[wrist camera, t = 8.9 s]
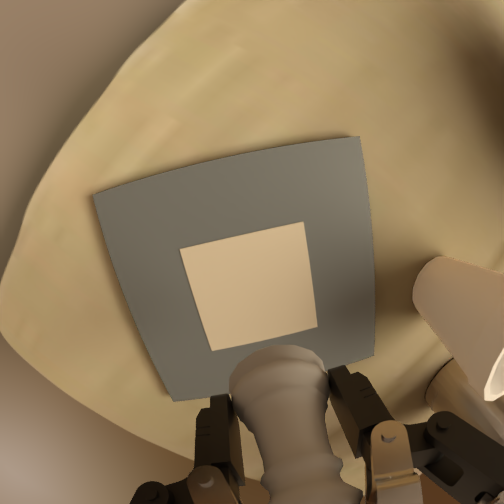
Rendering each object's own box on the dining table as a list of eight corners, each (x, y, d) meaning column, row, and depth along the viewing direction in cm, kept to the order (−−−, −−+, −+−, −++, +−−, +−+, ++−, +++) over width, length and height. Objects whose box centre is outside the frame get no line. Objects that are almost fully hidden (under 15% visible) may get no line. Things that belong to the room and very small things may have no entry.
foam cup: (459, 310, 26) (532, 368, 14) (398, 337, 26) (469, 420, 14) (466, 231, 23) (562, 274, 11) (400, 252, 23) (507, 319, 11)
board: (353, 137, 20) (360, 136, 19) (369, 350, 26) (374, 356, 25) (97, 193, 19) (91, 195, 18) (174, 394, 25) (173, 402, 24)
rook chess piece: (340, 362, 13) (415, 499, 5) (280, 417, 13) (313, 549, 6) (270, 320, 11) (327, 505, 4) (208, 386, 12) (210, 547, 5)
